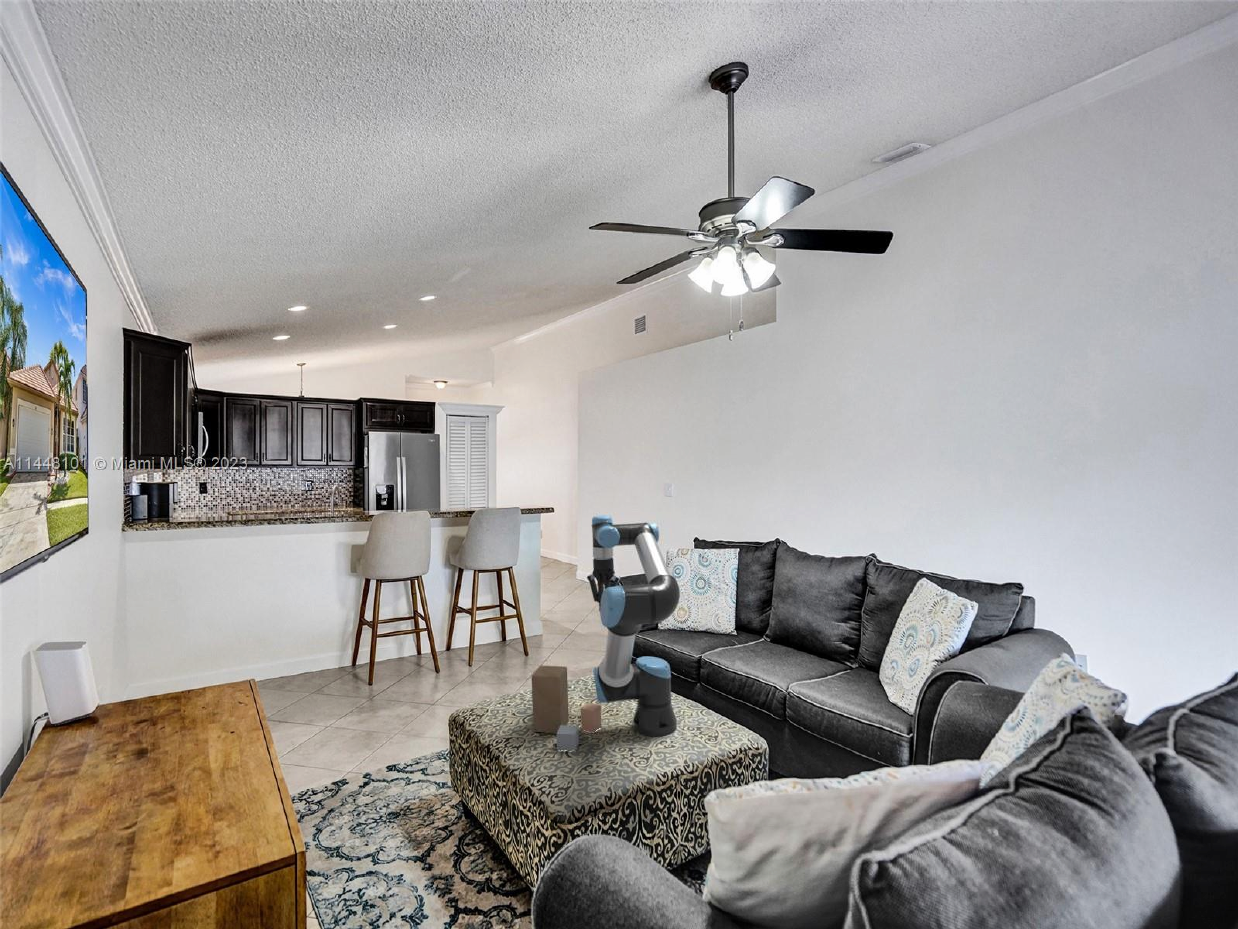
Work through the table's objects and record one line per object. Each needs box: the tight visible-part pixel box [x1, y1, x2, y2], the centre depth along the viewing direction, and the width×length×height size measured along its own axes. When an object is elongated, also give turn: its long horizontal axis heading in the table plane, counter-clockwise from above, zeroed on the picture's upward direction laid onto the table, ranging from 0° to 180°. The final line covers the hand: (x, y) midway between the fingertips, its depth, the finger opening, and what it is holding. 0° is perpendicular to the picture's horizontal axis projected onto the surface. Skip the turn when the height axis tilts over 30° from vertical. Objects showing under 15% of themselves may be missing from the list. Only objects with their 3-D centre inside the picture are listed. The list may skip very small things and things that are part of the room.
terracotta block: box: [580, 702, 603, 732], centre depth 218 cm, size 5×5×8 cm
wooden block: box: [531, 665, 570, 734], centre depth 220 cm, size 10×10×20 cm
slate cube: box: [556, 724, 580, 751], centre depth 206 cm, size 6×6×6 cm
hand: (605, 620), depth 235 cm, fingers closed
